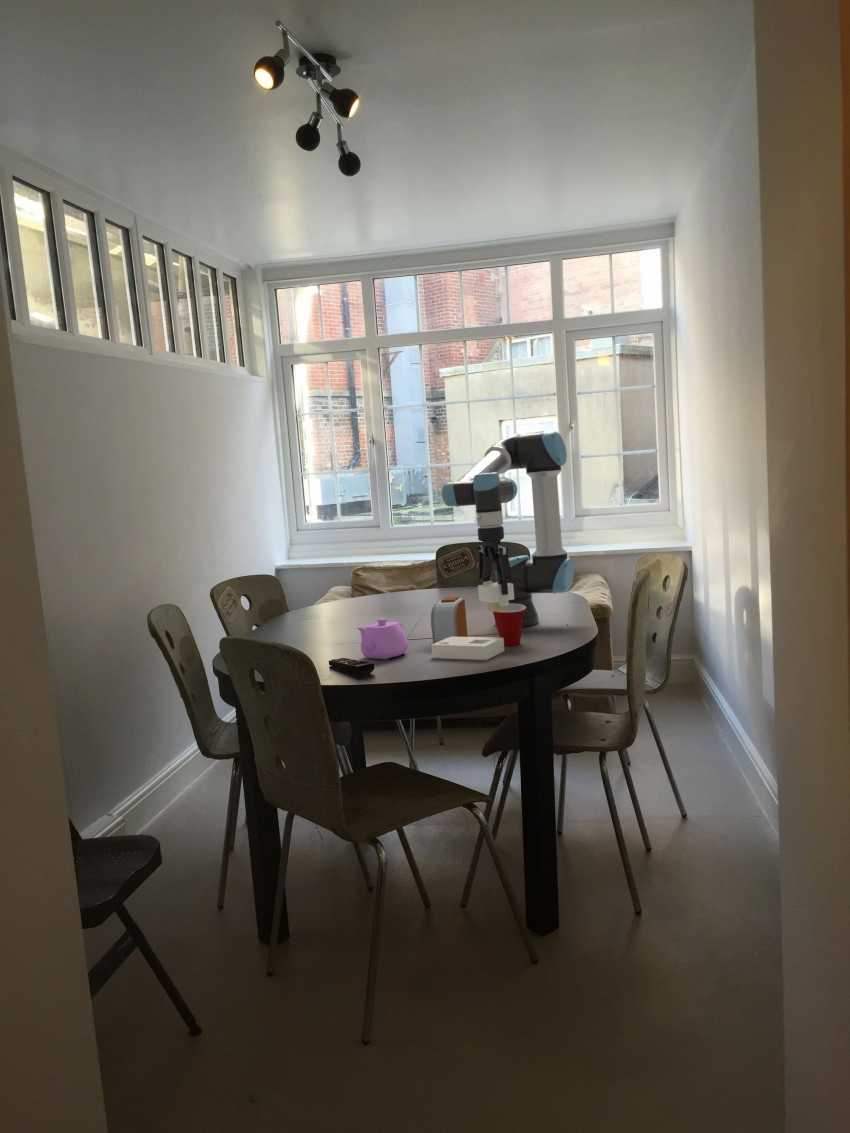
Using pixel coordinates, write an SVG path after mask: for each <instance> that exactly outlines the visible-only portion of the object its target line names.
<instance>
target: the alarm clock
mask: <svg viewBox="0 0 850 1133" xmlns="http://www.w3.org/2000/svg"><path fill="white" fill-rule="evenodd" d="M431 608H432V609H431V612H430V629H431V634H432V636H431V637H432V644H434V643H437V642H439V641H442V640H444V639H446V638H449V637H469V635H468V634H469V633H468V624H467V623H468V622H467V613H466V612H467V611H466V601H465V597H459V596H447V597H444V598H441V599H439V600H438V601H436V602H435V603H434V604H433V606H432V607H431Z"/></svg>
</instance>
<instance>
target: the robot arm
mask: <svg viewBox="0 0 850 1133" xmlns="http://www.w3.org/2000/svg"><path fill="white" fill-rule="evenodd" d="M566 462H567V449H566V445H565V441H564V439H563V437H562V436H561V434H560V433H559V432H557V431H556V430H542V431H534V432H527V433H526V432H525V433H516V434H512V435H508V436H506V437H504V438H502V439H500V440H499V441H497V442H495V443H494V444H493V445H491V446H490V447H489V448H488V449H487V450H486V451H485V453H484V456H483V458H481V459H480V460H479V461H478V462H477V463H476V464H475V465H474V466H473V467H471V468H470V469H469V470H468V471H467V472H466V473H464V475H463V476H461V477H460V478H459V479H458V480H457V481H453V480H452V481H450V482H448V481H447V482H445V483H444V484H443V486H442V489H441V498H442V501H443V503H444V505H445V506H448V507H456V508H458V507H467V506H475V513H476V517H475V519H476V526H478V529H477V540H478V541H479V542H482V544H481V545H477V546H476V551H477V577H478V580H480V581H482V583H483V584H482V585H484V584H490V583H494V582H493V580H494V579H493V578H492V569H493V565H494V568H495V578H496V579H495V583H496V582H498V583H497V584H498V592H499V605H500V607H502V606H508V605H509V604H521V605H524V606H526V609H525V611H524V614H523V621H522V628H523V627H530V626H533V625H537V624H539V622H540V620H539V614H538V612H537V609H536V607H535V604H534V602H533V596H532V594H554V595H556V594H561V593H562V594H564V593H567V592H568V591H569V590H570V589H571V587H572V585H573V581H574V578H575V577H574V576H575V563H574V560H573V559H572V558H571V557H568V552H567V551H566V550H565V549H564V548H563V540H562V528H561V525H562V524H561V514H560V513H561V511H560V498H559V485H558V484H559V483H558V476H559V474H560V473H561V472H562V466H564V465H566ZM517 469H519V470H520V469H525V473H526V475H527V476H529V478H530V481H531V490H532V491H531V492H532V493H531V494H532V504H533V505H532V506H533V518H534V520H533V521H534V522H533V523H534V535H535V545H536V546H535V547H536V549H535V550H534V551H533V553H532V557H531V558H532V559H530V557H529V555H527V554H525V555H517V556H513V557H509V547H508V546H503V544H502V540H504V539H505V531H504V527H503V524H504V519H503V508H502V507H503V506H502V504H508V503H509V502H511V501H513V500H514V499H515V498H516V496H517V494H518V486H517V483H516V482H515V480H513V478H510V477H506V476H504V477H500V475H501V474H505V473H507V472H508V471H511V470H517ZM508 583H511V584H513V588H514V599H513V600H509V599H508V585H507V584H508ZM484 604H485V605H488V603H487V602H484ZM494 626H495V627H497V626H496V622H495V621H494Z"/></svg>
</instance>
